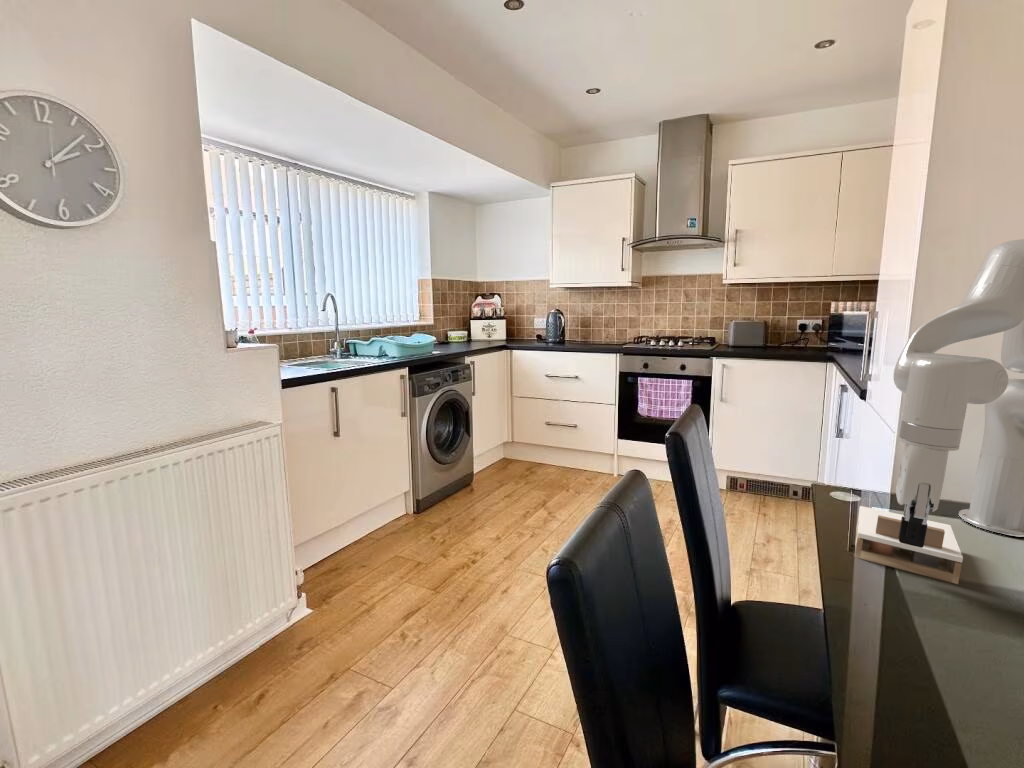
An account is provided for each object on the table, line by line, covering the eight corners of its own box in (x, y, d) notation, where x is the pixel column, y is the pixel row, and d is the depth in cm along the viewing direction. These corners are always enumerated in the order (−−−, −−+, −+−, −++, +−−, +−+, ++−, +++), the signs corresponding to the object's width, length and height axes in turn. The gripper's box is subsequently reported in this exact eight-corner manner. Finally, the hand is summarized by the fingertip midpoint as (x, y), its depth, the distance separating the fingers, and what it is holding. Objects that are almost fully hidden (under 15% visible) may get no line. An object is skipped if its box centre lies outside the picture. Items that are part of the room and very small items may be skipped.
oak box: (856, 529, 103) (859, 510, 103) (945, 550, 95) (949, 530, 95) (854, 559, 90) (857, 538, 90) (957, 587, 82) (961, 564, 82)
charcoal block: (911, 560, 90) (913, 543, 89) (934, 566, 88) (937, 548, 87) (912, 567, 87) (915, 550, 87) (936, 573, 85) (939, 556, 85)
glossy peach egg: (874, 547, 94) (876, 531, 93) (895, 555, 91) (898, 539, 91) (865, 551, 92) (868, 535, 92) (886, 560, 89) (889, 543, 89)
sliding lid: (859, 509, 102) (862, 491, 102) (949, 529, 95) (953, 509, 94) (857, 537, 89) (860, 516, 89) (962, 562, 82) (966, 540, 81)
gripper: (897, 423, 89) (881, 522, 92) (902, 440, 77) (883, 553, 80) (953, 430, 85) (934, 534, 88) (968, 449, 72) (945, 569, 75)
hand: (910, 543), depth 84 cm, fingers closed
